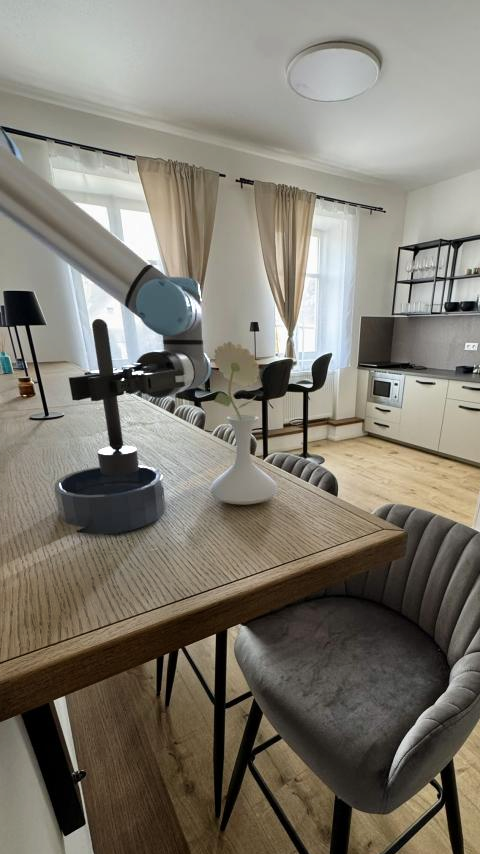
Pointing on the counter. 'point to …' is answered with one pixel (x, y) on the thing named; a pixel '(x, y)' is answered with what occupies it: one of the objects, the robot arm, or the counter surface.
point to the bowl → (110, 500)
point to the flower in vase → (240, 433)
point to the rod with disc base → (112, 414)
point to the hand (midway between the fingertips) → (83, 389)
